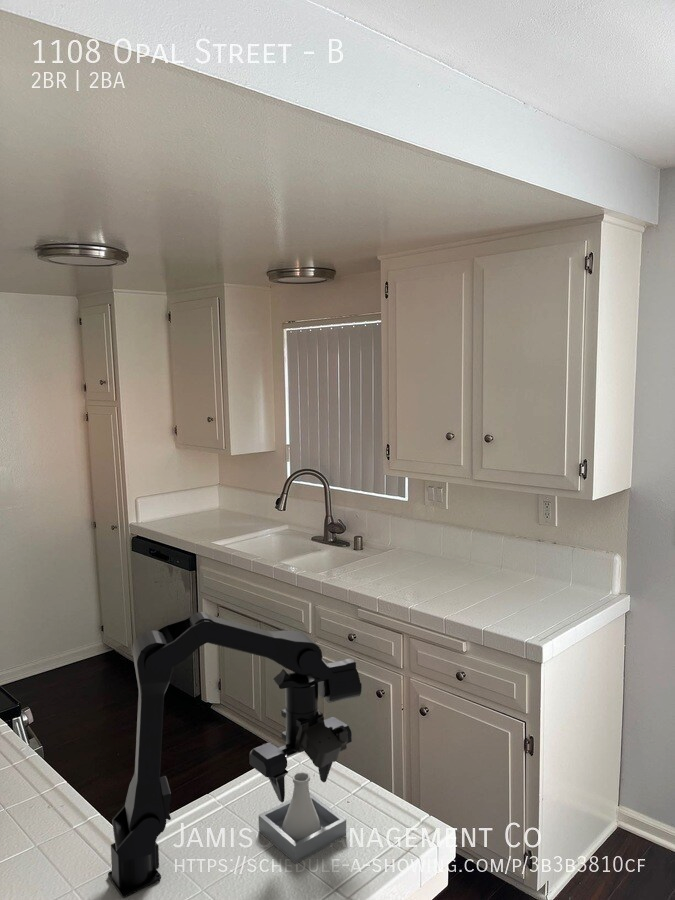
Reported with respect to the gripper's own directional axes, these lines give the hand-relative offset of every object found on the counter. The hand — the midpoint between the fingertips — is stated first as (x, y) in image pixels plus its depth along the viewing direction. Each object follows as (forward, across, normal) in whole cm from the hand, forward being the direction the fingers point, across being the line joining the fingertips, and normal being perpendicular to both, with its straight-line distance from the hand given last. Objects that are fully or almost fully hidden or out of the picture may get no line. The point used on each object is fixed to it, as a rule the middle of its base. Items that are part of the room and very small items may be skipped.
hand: (302, 791), depth 121 cm
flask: (+8, 0, 0) cm, 8 cm away
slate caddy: (+8, 0, 0) cm, 8 cm away
